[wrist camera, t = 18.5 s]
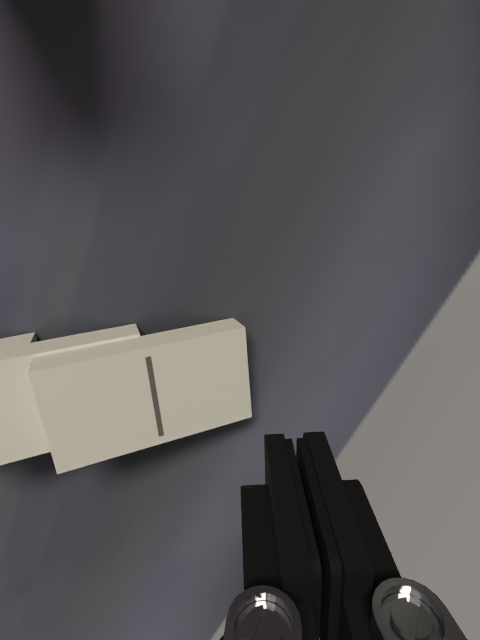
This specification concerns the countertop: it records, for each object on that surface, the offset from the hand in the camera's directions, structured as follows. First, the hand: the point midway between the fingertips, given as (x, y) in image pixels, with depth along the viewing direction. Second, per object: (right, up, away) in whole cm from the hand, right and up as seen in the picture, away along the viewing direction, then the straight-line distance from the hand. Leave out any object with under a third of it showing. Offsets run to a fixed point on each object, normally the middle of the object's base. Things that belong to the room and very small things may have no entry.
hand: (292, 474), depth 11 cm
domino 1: (-1, +2, +8) cm, 8 cm away
